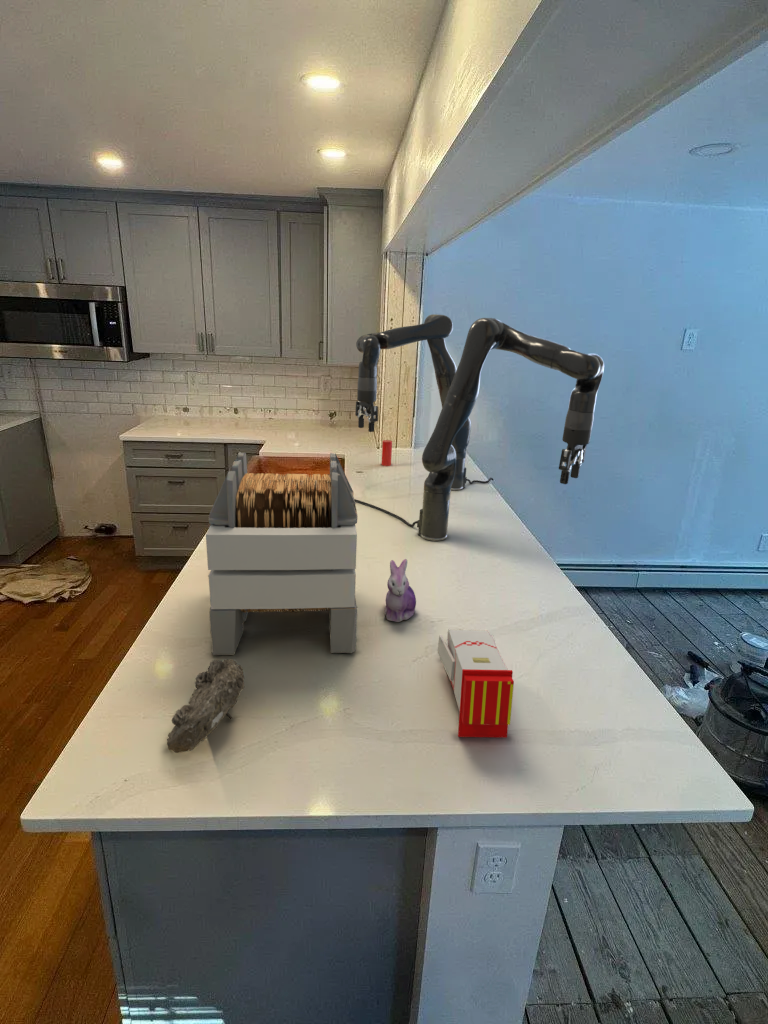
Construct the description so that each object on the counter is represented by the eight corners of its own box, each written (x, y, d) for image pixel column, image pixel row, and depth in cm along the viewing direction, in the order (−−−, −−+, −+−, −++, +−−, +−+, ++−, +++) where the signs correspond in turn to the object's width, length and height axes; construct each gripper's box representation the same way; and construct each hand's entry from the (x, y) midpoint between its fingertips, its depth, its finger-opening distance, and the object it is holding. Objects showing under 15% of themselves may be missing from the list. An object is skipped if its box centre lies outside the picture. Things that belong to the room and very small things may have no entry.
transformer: (231, 586, 157) (223, 443, 144) (349, 585, 161) (352, 445, 147) (209, 657, 126) (197, 482, 112) (356, 653, 129) (362, 483, 116)
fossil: (192, 660, 117) (244, 628, 112) (224, 691, 120) (276, 661, 115) (142, 746, 98) (202, 712, 93) (182, 779, 101) (242, 748, 96)
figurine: (392, 627, 141) (395, 572, 136) (374, 608, 149) (376, 556, 144) (425, 619, 145) (429, 566, 140) (405, 601, 154) (408, 550, 149)
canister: (380, 465, 286) (381, 441, 282) (383, 462, 290) (384, 439, 286) (389, 466, 284) (390, 442, 280) (392, 464, 289) (393, 440, 285)
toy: (488, 613, 130) (523, 677, 101) (484, 667, 133) (517, 744, 104) (435, 612, 130) (455, 676, 101) (432, 666, 133) (451, 743, 103)
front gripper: (574, 421, 169) (565, 473, 175) (556, 427, 159) (547, 482, 164) (599, 425, 165) (589, 478, 171) (582, 431, 154) (572, 488, 160)
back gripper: (384, 390, 217) (383, 432, 223) (366, 385, 229) (365, 425, 234) (367, 391, 214) (366, 434, 219) (350, 386, 225) (349, 426, 231)
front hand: (569, 480), depth 167 cm, fingers open, 8 cm apart
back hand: (366, 429), depth 227 cm, fingers open, 8 cm apart
